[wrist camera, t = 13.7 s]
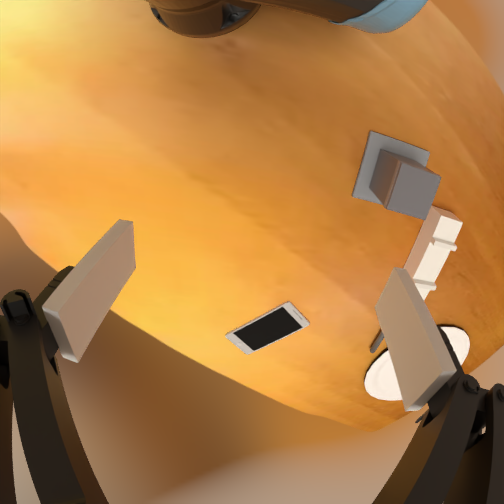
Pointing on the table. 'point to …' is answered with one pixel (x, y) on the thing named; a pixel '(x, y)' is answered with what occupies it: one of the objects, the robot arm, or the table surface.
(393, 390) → the plate
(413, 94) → the table surface
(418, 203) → the grey block
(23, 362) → the robot arm
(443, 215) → the power strip
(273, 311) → the smartphone
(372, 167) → the mat
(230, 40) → the table surface
